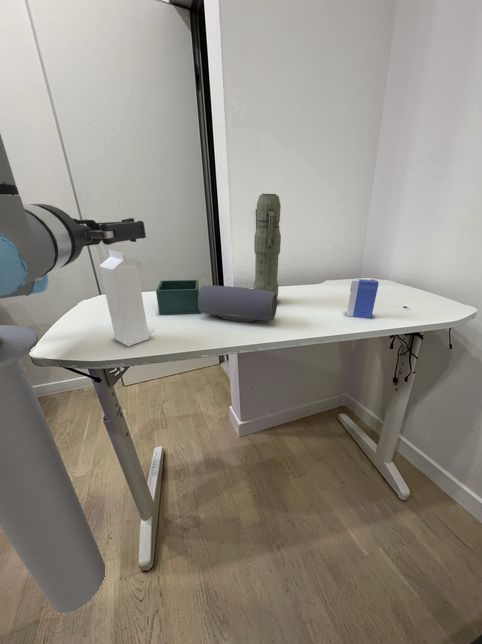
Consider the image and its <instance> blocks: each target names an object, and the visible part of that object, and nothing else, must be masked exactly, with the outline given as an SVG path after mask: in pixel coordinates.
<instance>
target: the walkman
mask: <svg viewBox="0 0 482 644" xmlns="http://www.w3.org/2000/svg"><path fill="white" fill-rule="evenodd" d="M379 284H380V283H379V281H378V280H376V279H374V278H372V279H361V278H360V279H359V278H353V279H352V280H351V283H350V290H349V291H350V292H349V298H348V305H347V310H346V317H354V318H365V319H366V318H367V319H372V317H373V312H374V309H375V308H374V307H375V302H376V298H377V293H378V288H379Z"/></svg>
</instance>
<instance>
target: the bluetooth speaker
mask: <svg viewBox="0 0 482 644" xmlns="http://www.w3.org/2000/svg"><path fill="white" fill-rule="evenodd" d="M198 308H199V310H200V313H204V314H209V315H214V316H220V318H221V319H223V320H227V321H234V322H243V323H253V322H254V321H274V319H275V317H276V314H277V308H278V296H276V293H275V292H271V291H265V290H258V289H254V288H251V287H242V286H241V287H240V286H229V285H228V286H227V285H211V284H209V285H202V286H201V287H200V288H199V295H198Z"/></svg>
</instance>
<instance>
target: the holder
mask: <svg viewBox="0 0 482 644" xmlns="http://www.w3.org/2000/svg"><path fill="white" fill-rule="evenodd" d="M199 287H200V286H199V279H179V280H178V279H174V280H173V279H172V280H170V279H169V280H160V281H159V283H158V286H157V288H156V290H155V294H156V301H157V307H158V314H159V316H164V315H166V316H167V315H187V314H188V315H191V314H192V315H193V314H200V313H201V311H200V310H199V308H198V295H199V290H200V288H199Z"/></svg>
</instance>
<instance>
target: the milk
mask: <svg viewBox="0 0 482 644" xmlns="http://www.w3.org/2000/svg"><path fill="white" fill-rule="evenodd" d="M108 254H109V257H107V258H106V259H105V260H104V261H103V262H102V263H100V265H99V271H100V276H101V280H102V285H103V289H104V292H105V293H104V294H105V299H106V303H107V307H108V311H109V316H110V320H111V324H112V329H113V332H114V337H115V341H118V342H119V343H121V344H123V345H125V346H127V347H130V346H133V345H136V344H138V343H142V342H144V341H147V340H150V335H149V328H148V324H147V318H146V311H145V305H144V299H143V293H142V287H141V282H140V275H139V270H138V265H136V264H133V263H132V262H130V261H128V260H125V258H124V254H123V252H120V251H116V250H111V249H109V250H108Z"/></svg>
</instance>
